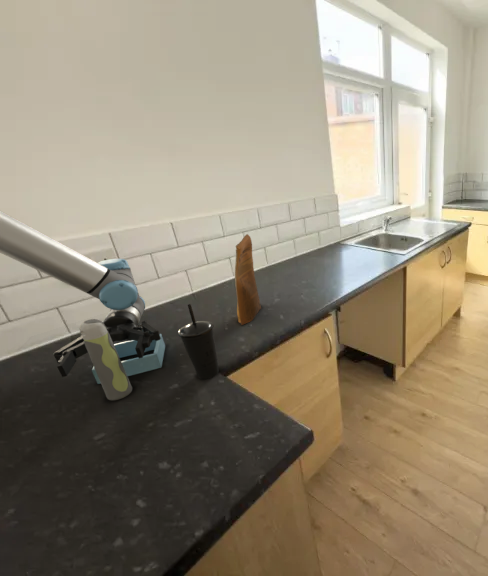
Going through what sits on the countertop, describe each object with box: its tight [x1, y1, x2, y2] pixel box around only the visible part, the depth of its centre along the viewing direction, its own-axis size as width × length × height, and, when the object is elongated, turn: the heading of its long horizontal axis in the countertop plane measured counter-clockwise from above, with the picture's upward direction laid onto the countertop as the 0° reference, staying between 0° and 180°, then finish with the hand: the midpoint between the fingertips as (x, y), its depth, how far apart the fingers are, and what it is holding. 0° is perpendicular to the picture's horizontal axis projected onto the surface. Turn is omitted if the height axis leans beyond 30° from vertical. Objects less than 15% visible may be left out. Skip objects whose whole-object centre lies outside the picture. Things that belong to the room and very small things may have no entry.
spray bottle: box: [78, 318, 133, 401], centre depth 73 cm, size 5×5×20 cm
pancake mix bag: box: [234, 233, 262, 326], centre depth 110 cm, size 7×19×28 cm, turn 3°
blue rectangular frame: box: [91, 333, 166, 385], centre depth 88 cm, size 14×13×4 cm
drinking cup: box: [177, 303, 220, 380], centre depth 79 cm, size 8×8×20 cm
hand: (102, 362), depth 71 cm, fingers open, 13 cm apart
